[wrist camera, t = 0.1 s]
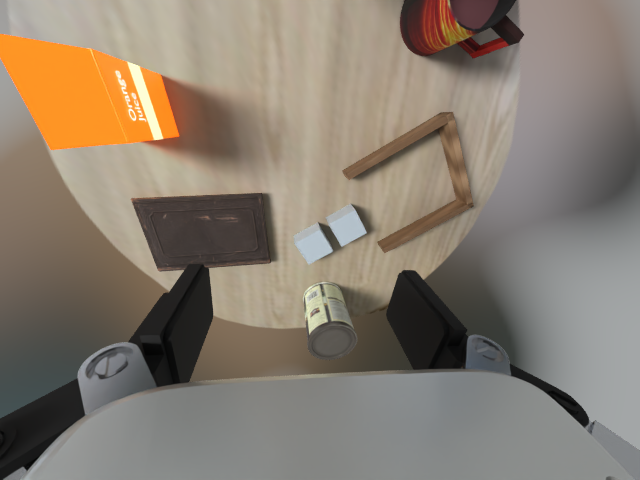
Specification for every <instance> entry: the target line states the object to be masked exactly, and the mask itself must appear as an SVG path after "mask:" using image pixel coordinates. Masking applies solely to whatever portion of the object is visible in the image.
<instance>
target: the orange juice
mask: <svg viewBox="0 0 640 480" xmlns="http://www.w3.org/2000/svg"><path fill="white" fill-rule="evenodd" d="M0 58H1V60H2V62H3V63H4V65H5V67H6V69H7V71H8V73H9V74H10V76H11V78H12V80H13V82H14V84H15V85H16V87H17V89H18V91H19V93H20V94H21V96H22V98H23V100H24V102H25V104H26V105H27V107H28V109H29V111H30V113H31V114H32V116H33V118H34V120H35V122H36V124H37V126H38V127H39V129H40V131H41V133H42V135H43V137H44V138H45V140H46V142H47V144H48V146H49V147H50V149H51V150H56V149H67V148H77V147H88V146H98V145H110V144H126V143H134V142H142V141H149V140H159V139H163V138H171V137H178V136H179V134H178V130H177V127H176V124H175V120H174V117H173V114H172V111H171V107H170V104H169V101H168V97H167V94H166V91H165V87H164V84H163V81H162V77H161V75H160V74H157V73H155V72H152V71H149V70H147V69H144V68H141V67H139V66H137V65H135V64H132V63H129V62H125V61H123V60H120V59H117V58H115V57H112V56H109V55H107V54H104V53H101V52H99V51H96V50H93V49H86V48H80V47H75V46H69V45H63V44H57V43H51V42H45V41H39V40H33V39H27V38H22V37H16V36H10V35H4V34H0Z"/></svg>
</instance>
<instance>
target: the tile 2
mask: <svg viewBox="0 0 640 480" xmlns="http://www.w3.org/2000/svg"><path fill="white" fill-rule="evenodd" d="M326 219H327V222H328V224H329V226H330V228H331V229H332V231H333V233H334V235H335V236H336V238H337V240H338V241H339V243H340V245H341V247H342V246H344V245H346V244H347V243H349V242H351V241H353V240H355V239H357V238H359V237H360V236H362V235H364V234H366V233H367V232H366V230H365V228H364V226H363V224H362V222H361V220H360V218H359V216H358V214H357V212H356V210H355V209H354V208H353V206H352V205H351V204H349V205H347V206H345V207H344V208H342V209H340V210H338V211H337V212H335V213H333V214H331V215H329V216H328V217H326Z"/></svg>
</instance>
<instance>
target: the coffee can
mask: <svg viewBox="0 0 640 480" xmlns="http://www.w3.org/2000/svg"><path fill="white" fill-rule="evenodd" d="M303 303H304V310H305V319H306V329H307V338H308V343H307V345H308V350H309V352H310V353H311V354H312V355H313V356H314V357H317V358H319V359H323V360H332V359H338V358H340V357H343V356H345V355H347V354H348V353H350V352H351V350H352V349H353V348H354V347H355V345H356V343H357V335H356V332H355V330H354V328H353V325H352V322H351V319H350V316H349V313H348V310H347V307H346V304H345V301H344V298H343V296H342V291H341V289H340V288H339V287H338V286H337V285H335V284H334V283H331V282H319V283H316V284H314V285H312V286H310V287H309V288H308V289H307V290H306V292H305V293H304V296H303Z"/></svg>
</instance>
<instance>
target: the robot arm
mask: <svg viewBox="0 0 640 480" xmlns="http://www.w3.org/2000/svg"><path fill="white" fill-rule="evenodd" d="M386 315H387V319H388V321H389V323H390V325H391V327H392V329H393V331H394V333H395V335H396V337H397V339H398V340H399V342H400V344H401V346H402V348H403V350H404V352H405V354H406V356H407V358H408V360H409V362H410V364H411V365H412V367H413V369H414V370H399V371H375V372H354V373H333V374H313V375H293V376H276V377H257V378H239V379H225V380H212V381H211V380H210V381H197V382H189V381H190V378H191V375H192V373H193V370H194V367H195V364H196V362H197V359H198V357H199V354H200V351H201V349H202V346H203V343H204V341H205V338H206V335H207V333H208V330H209V327H210V325H211V322H212V319H213V305H212V296H211V286H210V276H209V268H208V267H205V266H204V264H189V265H188V266H187V267H186V269H185V270H184V272H183V273H182V275H181V276H180V277H179V279H178V280H177V282H176V283H175V285H174V286H173V288H172V289H171V290H170V292H169V293H164V294H163V295H162V296H161V297H160V299H159V300H158V301H157V303H156V304H155V305H154V307H153V308H152V310H151V311H150V312H149V314H148V315H147V317H146V318H145V319H144V321H143V322H142V324H141V325H140V326H139V328H138V329H137V330H136V332H135V333H134V335H133V336H132V337H131V339H130V340H129V342H128V343H124V342H123V343H117V344H113V345H110V346H108V347H105V348H103V349H101V350H99V351H97V352H96V353H94V354H93V355H92V356H90V357H89V358H88V359H87V360H86V361H85V362H84V363H83V364H82V366H81V367H80V369H79V371H78V378H77V379H75V380H74V381H71V382H70V383H68V384H66V385H64V386H62V387H60V388H58V389H56V390H54V391H52V392H50V393H48V394H47V395H45V396H43V397H41V398H39V399H37V400H35V401H33V402H31V403H29V404H27V405H25V406H24V407H22V408H20V409H18V410H16V411H14V412H12V413H10V414H8V415H6V416H5V417H2V418H1V419H0V480H640V450H638V449H637V448H635V447H634V446H632V445H631V444H630V443H628V442H627V441H625V440H623V439H622V438H621V437H619V436H618V435H616V434H615V433H614V432H612V431H611V430H609V429H608V428H606V427H605V426H603V425H602V424H600V423H599V422H597V421H596V420H595V421H594V422H593V423H592V422H591V421H589V418H588V416H587V414H586V412H585V411H584V409H583V408H582V407H581V406H580V405H579V404H578V403H577V402H576V401H575V400H574V399H573V398H572V397H571V396H569V395H568V394H567V393H565V392H563V391H561V390H559V389H558V388H556V387H554V386H552V385H550V384H548V383H546V382H544V381H542V380H541V379H539V378H537V377H535V376H533V375H531V374H529V373H527V372H525V371H523V370H521V369H519V368H517V367H515V366H513V365H511V364H509V358H508V356H507V354H506V352H505V351H504V350H503V349H502V348H501V347H500V346H499V345H498V344H496V343H495V342H493V341H492V340H490V339H488V338H486V337H483V336H480V335H471V336H470V337H468V336H467V335H466V334H465V333H466V332H467V329H466V328H465V327H464V325H463V324H462V323H461V322H460V321H459V320H458V319H457V317H456V316H455V315H454V314H453V313H452V312H451V311H450V310H449V308H448V307H447V306H446V305H445V304H444V303H443V302H442V301H441V299H440V298H439V297H438V296H437V295H436V294H435V293H434V291H433V290H432V289H431V288H430V287H429V286H428V285H427V283H426V282H425V281H424V280H423V279H422V278H421V277H420V275H419V274H418V273H417V272H416V271H414V270H403V271H402V273H399V275H398V278H397V281H396V284H395V287H394V290H393V294H392V297H391V300H390V303H389V306H388V309H387V314H386Z"/></svg>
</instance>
